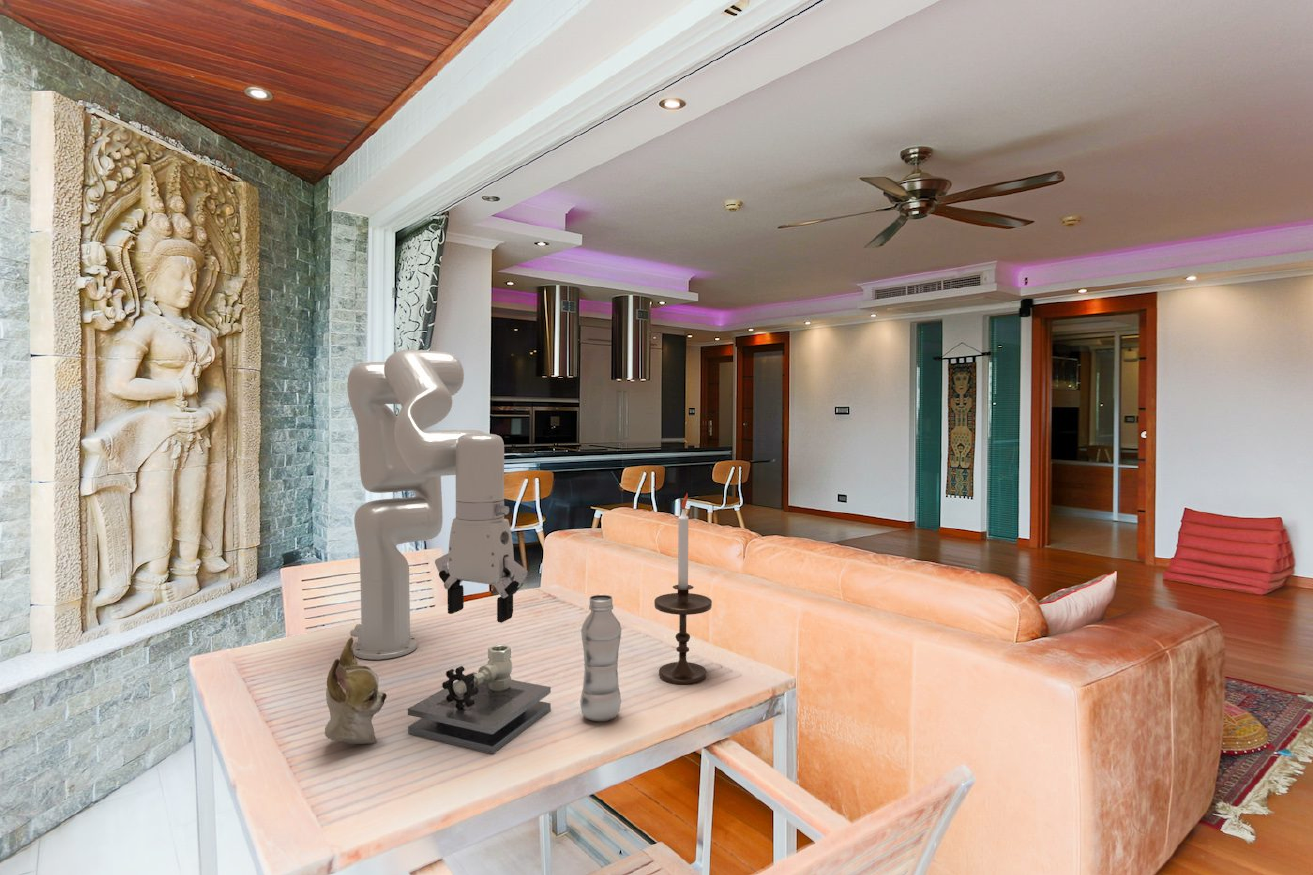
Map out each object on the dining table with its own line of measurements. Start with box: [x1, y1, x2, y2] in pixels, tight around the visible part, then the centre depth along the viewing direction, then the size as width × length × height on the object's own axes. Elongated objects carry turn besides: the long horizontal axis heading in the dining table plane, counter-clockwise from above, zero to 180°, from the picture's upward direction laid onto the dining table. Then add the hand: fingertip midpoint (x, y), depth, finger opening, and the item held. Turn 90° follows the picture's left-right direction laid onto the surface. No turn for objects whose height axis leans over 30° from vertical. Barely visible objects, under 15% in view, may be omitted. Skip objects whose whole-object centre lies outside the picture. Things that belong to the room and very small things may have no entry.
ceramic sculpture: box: [324, 636, 387, 745], centre depth 104 cm, size 11×9×15 cm
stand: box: [407, 671, 552, 755], centre depth 112 cm, size 16×16×4 cm
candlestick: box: [653, 493, 713, 686], centre depth 130 cm, size 11×11×35 cm
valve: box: [441, 644, 513, 710], centre depth 112 cm, size 7×7×12 cm
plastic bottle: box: [579, 594, 622, 722], centre depth 113 cm, size 6×7×20 cm
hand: (479, 615), depth 111 cm, fingers open, 9 cm apart
